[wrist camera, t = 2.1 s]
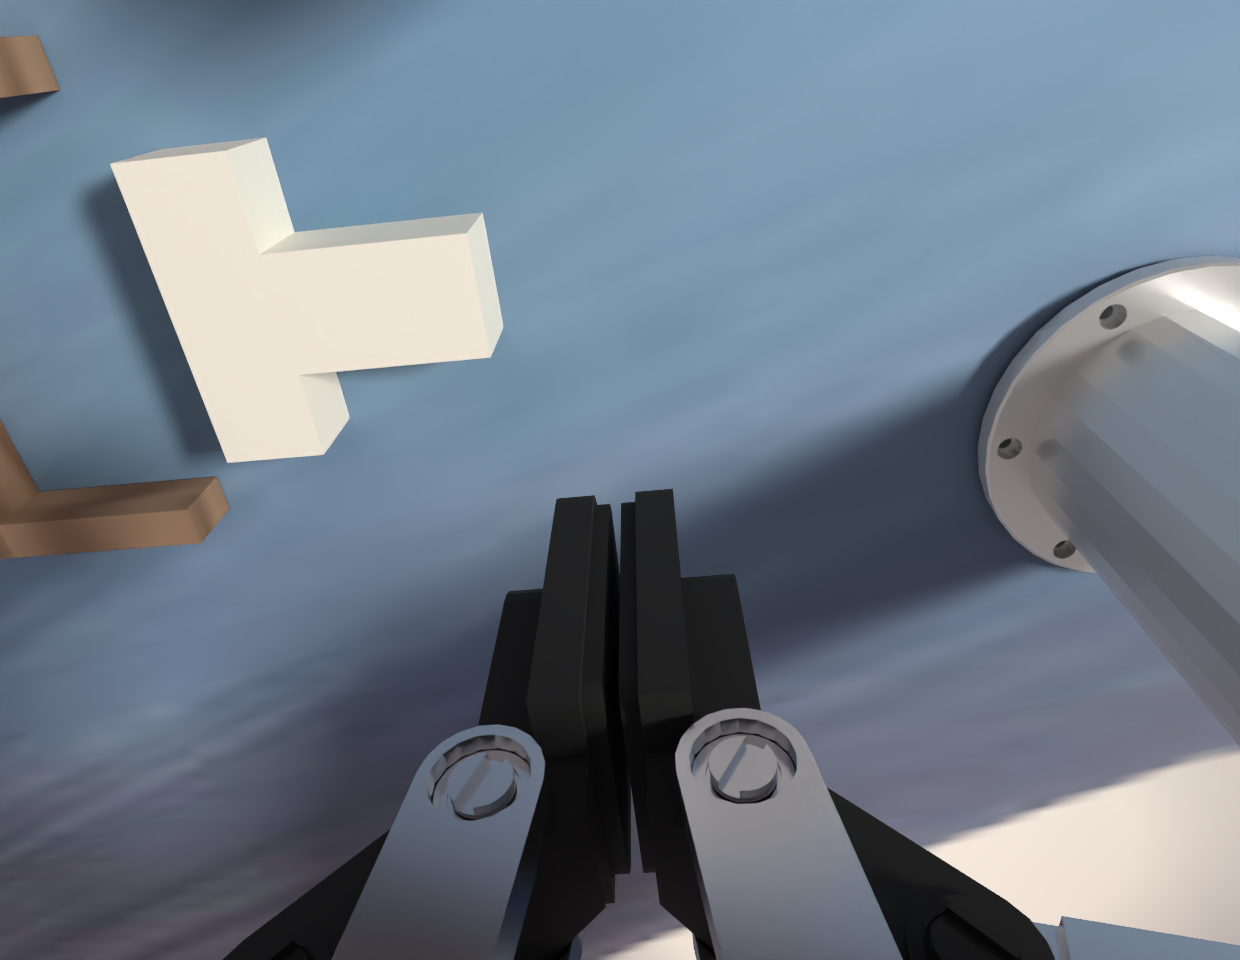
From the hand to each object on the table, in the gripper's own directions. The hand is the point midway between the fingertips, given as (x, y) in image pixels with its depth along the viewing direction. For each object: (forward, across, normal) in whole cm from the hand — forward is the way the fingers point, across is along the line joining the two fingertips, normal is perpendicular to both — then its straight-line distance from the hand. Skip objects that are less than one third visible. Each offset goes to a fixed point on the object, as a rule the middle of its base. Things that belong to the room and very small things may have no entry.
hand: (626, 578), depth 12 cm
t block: (+18, +10, 0) cm, 21 cm away
